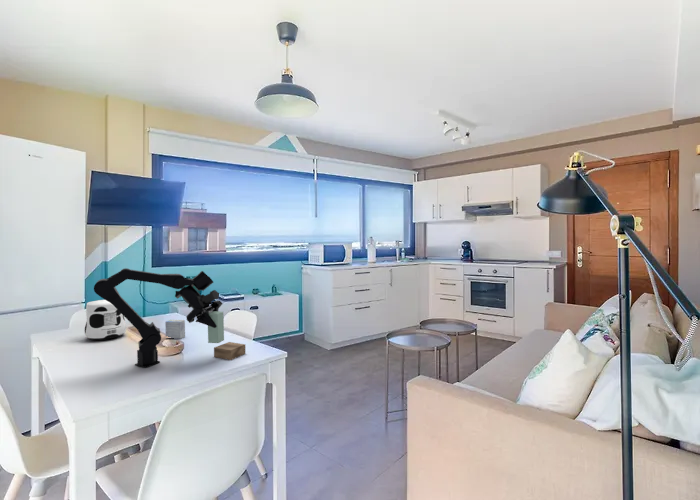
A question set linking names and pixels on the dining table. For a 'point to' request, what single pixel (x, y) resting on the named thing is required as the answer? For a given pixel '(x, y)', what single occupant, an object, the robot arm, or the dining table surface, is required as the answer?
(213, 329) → the tall green block
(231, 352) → the walnut block
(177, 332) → the medicine box
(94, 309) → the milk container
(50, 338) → the dining table surface
